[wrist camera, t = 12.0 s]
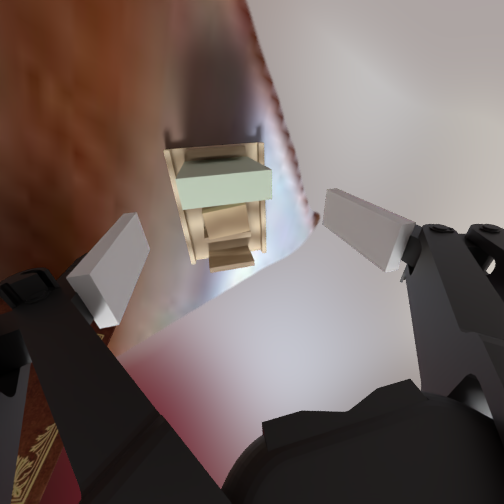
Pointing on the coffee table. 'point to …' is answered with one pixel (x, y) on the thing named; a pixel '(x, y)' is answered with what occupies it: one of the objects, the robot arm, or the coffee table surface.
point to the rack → (199, 246)
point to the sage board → (223, 182)
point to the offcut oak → (225, 220)
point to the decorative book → (38, 435)
